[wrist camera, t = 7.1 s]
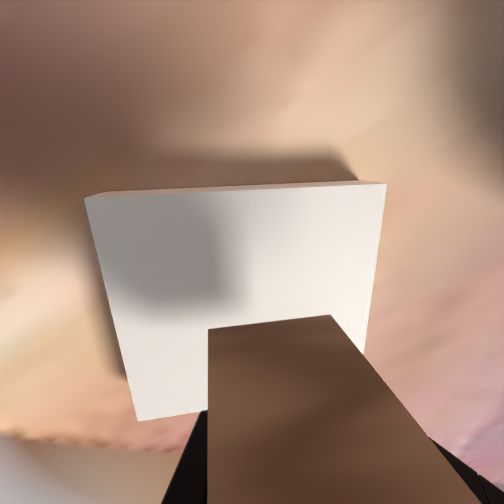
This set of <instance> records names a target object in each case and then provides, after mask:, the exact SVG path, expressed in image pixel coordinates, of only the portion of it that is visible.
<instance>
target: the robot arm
mask: <svg viewBox="0 0 504 504" xmlns="http://www.w3.org/2000/svg"><path fill="white" fill-rule="evenodd" d="M429 438H430V437H429ZM430 439H431V438H430ZM431 441H432V442H433V443H434V444H435V446H436V447H437V448H438V449H439V451H440V452H441V453H442V454H443V456H444V457H445V458H446V460H447V461H448V462H449V463H450V465H451V466H452V467H453V468H454V470H455V471H456V472H457V473H458V475H459V476H460V477H461V478H462V480H463V481H464V482H465V483H466V485H467V486H468V487H469V488H470V490H471V491H472V492H473V493H474V495H475V496H476V497H477V498H478V500H479V501H480V502H481V503H482V504H504V492H503V491H502V490H500V489H499V488H497V487H496V486H495V485H493V484H492V483H491V482H489V481H488V480H487V479H485V478H484V477H483V476H481V475H478V474H477V472H476V471H474V470H473V469H472V468H470V467H469V466H468V465H466V464H465V463H463V462H462V461H461V460H459V459H458V458H457V457H455V456H454V455H453V454H451V453H450V452H449V451H447V450H446V449H444V448H443V447H442V446H440V445H439V444H438V443H436V442H435V441H434V440H432V439H431ZM207 457H208V410H203V411H201V412H200V414H199V416H198V418H197V421H196V423H195V425H194V428H193V430H192V432H191V435H190V437H189V439H188V442H187V444H186V446H185V449H184V451H183V453H182V456H181V458H180V460H179V463H178V465H177V467H176V470H175V472H174V474H173V477H172V479H171V481H170V484H169V486H168V488H167V491H166V493H165V495H164V498H163V500H162V503H161V504H207Z"/></svg>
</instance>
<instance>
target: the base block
mask: <svg viewBox="0 0 504 504" xmlns="http://www.w3.org/2000/svg"><path fill="white" fill-rule="evenodd" d="M386 189H387V183H379V182H371V181H362V180H352V181H330V182H308V183H286V184H264V185H242V186H220V187H198V188H176V189H154V190H132V191H109V192H103V193H99V194H96V195H92V196H89V197H85V198H84V203H85V207H86V211H87V215H88V219H89V223H90V227H91V231H92V235H93V239H94V244H95V248H96V252H97V256H98V260H99V264H100V268H101V272H102V276H103V280H104V284H105V289H106V293H107V297H108V301H109V305H110V309H111V313H112V317H113V321H114V325H115V330H116V334H117V338H118V342H119V346H120V350H121V354H122V358H123V362H124V366H125V370H126V375H127V379H128V383H129V387H130V391H131V395H132V399H133V403H134V407H135V411H136V416H137V420H138V422H139V421H145V420H151V419H157V418H163V417H169V416H175V415H181V414H187V413H194V412H200V411H203V410H208V329H212V328H221V327H229V326H237V325H246V324H254V323H262V322H271V321H279V320H287V319H296V318H304V317H313V316H321V315H329V314H331V316H332V317H333V318H334V319H335V321H336V322H337V323H338V324H339V326H340V327H341V328H342V329H343V331H344V332H345V333H346V334H347V336H348V337H349V338H350V339H351V341H352V342H353V343H354V344H355V346H356V347H357V348H358V349H359V351H360V352H361V353H362V354H363V353H364V346H365V339H366V332H367V325H368V317H369V310H370V303H371V296H372V289H373V282H374V275H375V267H376V260H377V253H378V246H379V239H380V232H381V224H382V217H383V210H384V203H385V196H386Z"/></svg>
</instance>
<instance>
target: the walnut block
mask: <svg viewBox="0 0 504 504" xmlns="http://www.w3.org/2000/svg"><path fill="white" fill-rule="evenodd" d="M207 504H482V503H481V502H480V501H479V500H478V498H477V497H476V496H475V495H474V493H473V492H472V491H471V490H470V488H469V487H468V486H467V485H466V483H465V482H464V481H463V480H462V478H461V477H460V476H459V475H458V473H457V472H456V471H455V470H454V468H453V467H452V466H451V465H450V463H449V462H448V461H447V460H446V458H445V457H444V456H443V454H442V453H441V452H440V451H439V449H438V448H437V447H436V446H435V444H434V443H433V442H432V441H431V439H430V438H429V437H428V436H427V434H426V433H425V432H424V431H423V429H422V428H421V427H420V426H419V424H418V423H417V422H416V421H415V419H414V418H413V417H412V416H411V414H410V413H409V412H408V411H407V409H406V408H405V407H404V406H403V404H402V403H401V402H400V401H399V399H398V398H397V397H396V396H395V394H394V393H393V392H392V391H391V389H390V388H389V387H388V386H387V384H386V383H385V382H384V381H383V379H382V378H381V377H380V376H379V374H378V373H377V372H376V371H375V369H374V368H373V367H372V366H371V364H370V363H369V362H368V361H367V359H366V358H365V357H364V356H363V354H362V353H361V352H360V351H359V349H358V348H357V347H356V346H355V344H354V343H353V342H352V341H351V339H350V338H349V337H348V336H347V334H346V333H345V332H344V331H343V329H342V328H341V327H340V326H339V324H338V323H337V322H336V321H335V319H334V318H333V317H332V316H331V314H329V315H321V316H313V317H304V318H296V319H287V320H279V321H271V322H262V323H254V324H246V325H237V326H229V327H221V328H212V329H208V457H207Z"/></svg>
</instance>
